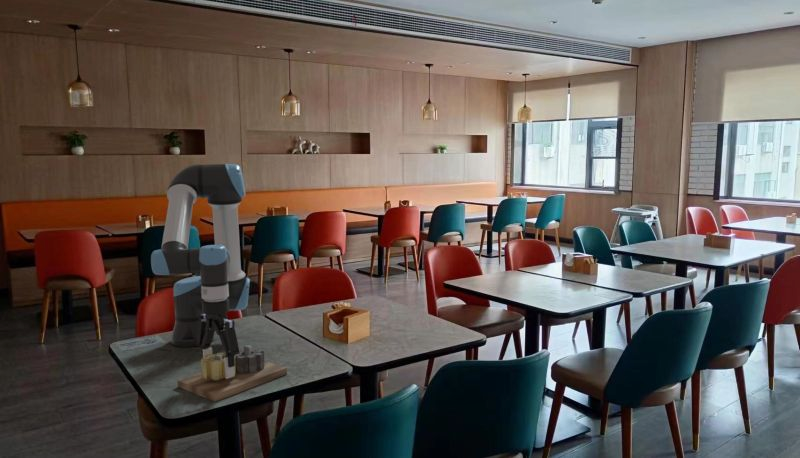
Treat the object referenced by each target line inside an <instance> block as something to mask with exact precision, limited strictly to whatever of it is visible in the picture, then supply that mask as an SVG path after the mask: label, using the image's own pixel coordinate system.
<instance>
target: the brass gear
mask: <svg viewBox="0 0 800 458" xmlns="http://www.w3.org/2000/svg"><path fill="white" fill-rule="evenodd" d="M215 355H222V359H221V360H214V356H215ZM225 355H226V353H225V351H224V352H222V351H221V352H217V353H214V354H213V353H212V354H209V355H206V357H204V358H203V357H201V359H200V371H201V372H200V373H201V374H202V376H203V379H206V380H208V379H213V380H220V379H221V378H225V363H224V356H225ZM234 359H235V366H234V372H235V374H236V356H234Z"/></svg>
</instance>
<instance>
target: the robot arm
mask: <svg viewBox="0 0 800 458" xmlns="http://www.w3.org/2000/svg"><path fill="white" fill-rule="evenodd" d="M242 171H243V170H242V168H241V166H240V165H238V164H235V163H231V164H230V163H209V164H206V163H205V164H199V163H198V164H192V165H187V166H186V167H184V168H183V169H182V170H180V171H178V173H176V174H175V175H174V177H172V179H171V181H170V182H169V185H168V187H167V192H166V198H167V200H168V206H167V211H166V219H165V224H164V230H163V235H162V242H161V248H160V249H156V250H153V251H152V253H151V255H150V265H151V270H152V273H153V274H154V275H157V276H171V275H172V276H173V275H187V274H189V275H190V274H192V275H193V274H200V275H196V276H190V277H186V278H183V279H180V280H178V281H176V282H175V283H174V285H173V295H172V296H173V304H174V305H173V306H174V320H175V322H174V327H173V330H172V334H171V338H170V339H171V341H170V342H171V344H172V345H173V346H175V347H178V348H179V347H180V348H181V347H183V348H190V347H200V349H201V351H202V358H204V357H206V355H209V354H213V347H212V346H213V345H212V342H213V341H215V340H216V335H218V338H219V339H220V342H221V344H222V348H223V350H224V354H226V355H225V356H224V363H225V378H226V379H228V378H231V377H234V376H235V372H234V366H235V359H234V356H235V355H236V354H239V351H240V348H239V343H238V338H237V334H236V329H235V323H236V322H235V319H228V316H227V313H228V312H232V311H233V312H236V311H242V310H246V308H247V307H248V304H249V302H248V301H249V293H250V283H251V280H250V277H249V278H248V277H246V273H245V272H244V271H243V270H242V265H241V246H240V229H239V228H240V227H239V224H240V223H239V212H238V211H239V209H238V208H239V205H240V204H241V203H242V201H243V200H242V198H245V197H246V195H247V194H246V185H245V180H244V175H243V172H242ZM198 199H207V204H208V205H209V206H210V207H211V208H212V221H213V223H212V224H213V236H214V239H213V240H214V244H208V245H203V246H201V247H200V248H198V247H197V248H189V239H190V232H191V223H192V216H193V208H194V207H193V205H194V204H195V203H196V202H197V200H198ZM215 334H216V335H215Z"/></svg>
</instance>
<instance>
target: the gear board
mask: <svg viewBox="0 0 800 458" xmlns="http://www.w3.org/2000/svg"><path fill="white" fill-rule="evenodd" d="M235 356H236V374H235V376H234V377H231V378H228V379H226V378H221V379H220V380H213V379H208V380H206V379H203V376H202V374H201V372H199V373H195V374H192V375H189V376H187V377H183V378H180V379H178V380H177V388H180V389H182V390H185V391H187V392H188V393H192V394H195V395H196V396H200V397H202V398H205V399H207V400H210V401H212V402H213V403H215V402H218V401H222V400H223V399H227V398H228V397H231V396H233V395H236V394H238V393H242V392H244V391H247V390H249V389H251V388H254V387H256V386H260V385H262V384H265V383H268V382H270V381H272V380H275V379H277V378H280V377H283V376H285V375H288V371H287V369H288V367H285V366H282V365H279V364H275V363H272V362H268V361H266V360H265V350H263V349H259V348H258V347H252V345H250V344H249V345H248V344H247V345H245V346H244V345H243V348H240V349H239V354H236V355H235ZM221 359H222V355H215V356H214V360H221Z"/></svg>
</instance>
